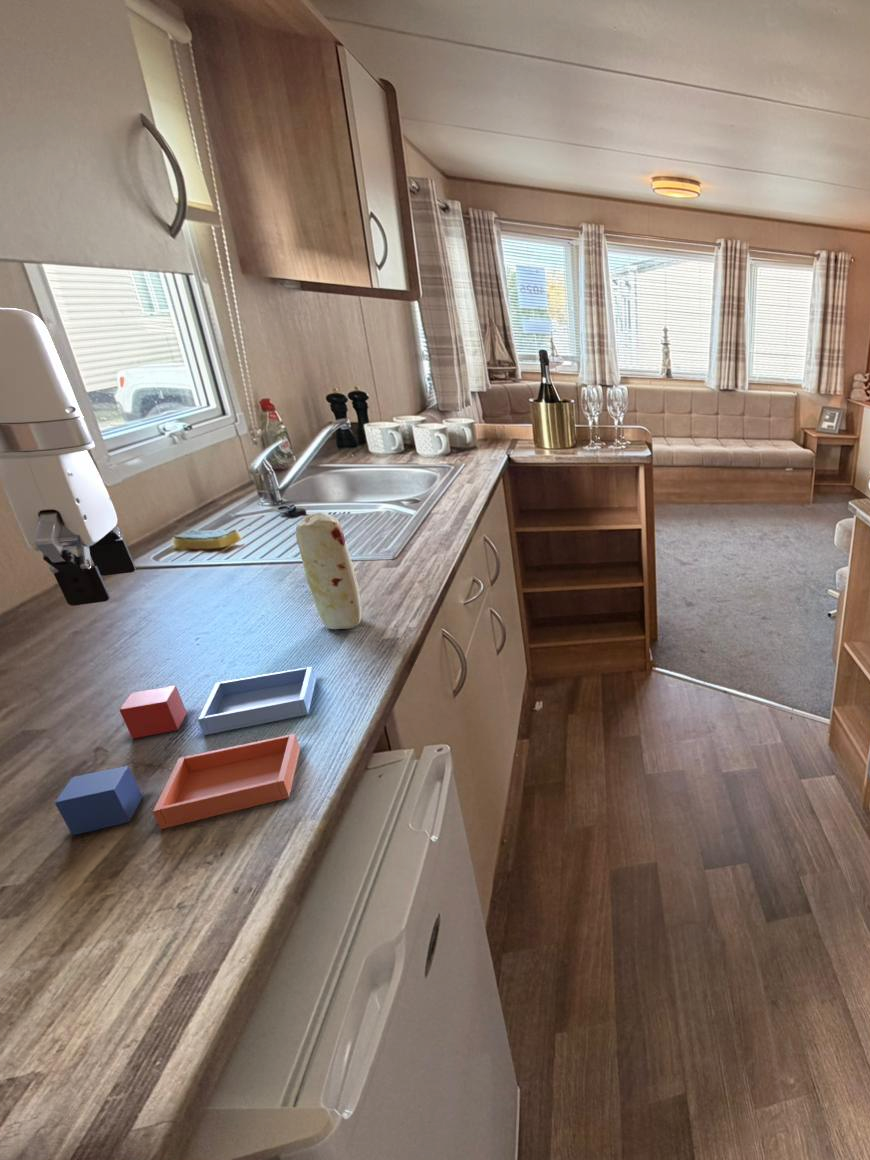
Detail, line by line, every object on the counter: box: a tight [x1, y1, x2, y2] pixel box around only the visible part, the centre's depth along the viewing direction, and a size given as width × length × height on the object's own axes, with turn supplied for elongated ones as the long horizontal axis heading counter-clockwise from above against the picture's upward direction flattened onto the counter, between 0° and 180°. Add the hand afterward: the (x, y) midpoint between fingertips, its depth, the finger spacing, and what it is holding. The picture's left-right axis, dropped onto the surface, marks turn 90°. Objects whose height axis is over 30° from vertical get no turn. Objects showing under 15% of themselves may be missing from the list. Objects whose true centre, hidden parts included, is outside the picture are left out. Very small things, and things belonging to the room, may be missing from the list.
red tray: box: [152, 733, 301, 830], centre depth 75 cm, size 11×10×2 cm
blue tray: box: [197, 666, 317, 736], centre depth 90 cm, size 11×10×2 cm
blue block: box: [54, 765, 144, 836], centre depth 69 cm, size 4×4×4 cm
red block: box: [119, 684, 188, 740], centre depth 84 cm, size 4×4×4 cm
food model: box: [294, 512, 362, 630], centre depth 111 cm, size 10×7×20 cm
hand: (105, 587), depth 73 cm, fingers open, 9 cm apart
